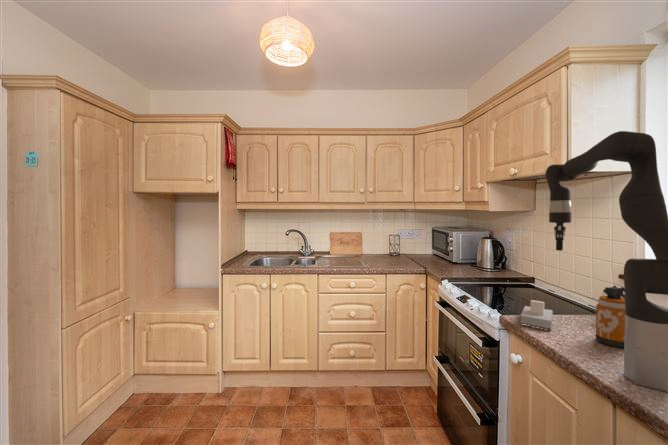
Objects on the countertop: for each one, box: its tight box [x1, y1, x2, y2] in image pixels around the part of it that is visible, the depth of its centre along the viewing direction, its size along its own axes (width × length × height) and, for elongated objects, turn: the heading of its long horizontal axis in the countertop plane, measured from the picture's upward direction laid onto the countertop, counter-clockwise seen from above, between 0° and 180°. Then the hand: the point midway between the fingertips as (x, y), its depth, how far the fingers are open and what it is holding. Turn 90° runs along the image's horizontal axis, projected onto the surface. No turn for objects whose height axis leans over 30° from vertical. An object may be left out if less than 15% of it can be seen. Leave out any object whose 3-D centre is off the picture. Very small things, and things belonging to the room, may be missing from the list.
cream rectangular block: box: [529, 299, 545, 315], centre depth 124 cm, size 4×4×8 cm
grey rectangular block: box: [520, 305, 554, 331], centre depth 124 cm, size 16×10×4 cm, turn 142°
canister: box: [595, 285, 625, 348], centre depth 104 cm, size 9×11×20 cm
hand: (559, 249), depth 126 cm, fingers open, 8 cm apart
